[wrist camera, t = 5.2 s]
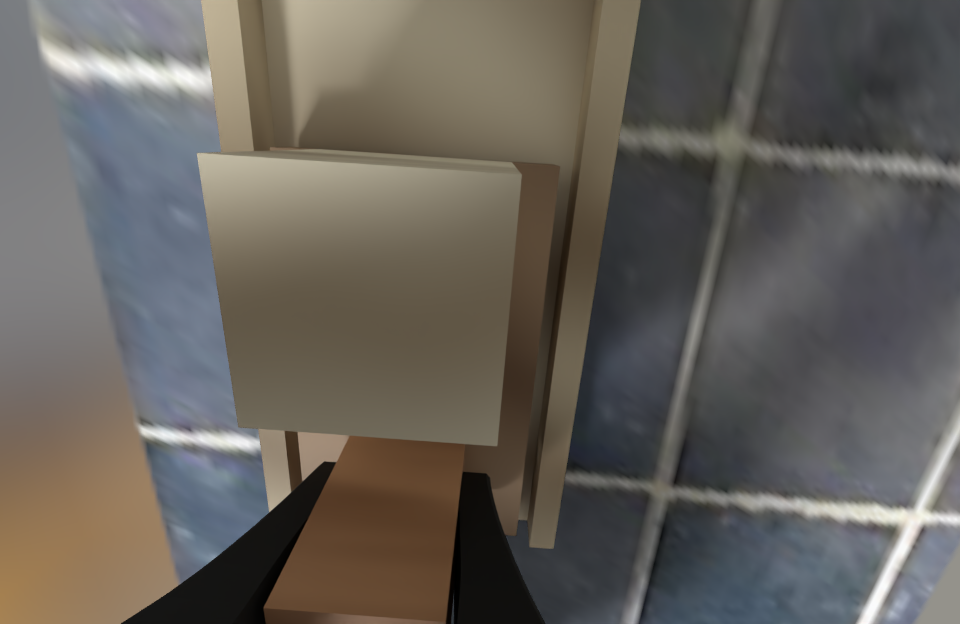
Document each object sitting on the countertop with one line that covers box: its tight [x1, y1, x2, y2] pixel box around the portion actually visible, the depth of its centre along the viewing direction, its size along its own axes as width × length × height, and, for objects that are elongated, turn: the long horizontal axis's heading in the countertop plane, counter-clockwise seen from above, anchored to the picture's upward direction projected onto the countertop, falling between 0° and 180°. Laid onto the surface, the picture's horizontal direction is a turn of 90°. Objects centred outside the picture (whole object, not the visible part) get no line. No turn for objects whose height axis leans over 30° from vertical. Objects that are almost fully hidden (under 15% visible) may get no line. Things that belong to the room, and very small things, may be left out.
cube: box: [197, 149, 522, 446], centre depth 8 cm, size 4×4×4 cm
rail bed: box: [201, 0, 641, 549], centre depth 11 cm, size 17×8×2 cm, turn 177°
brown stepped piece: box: [264, 147, 560, 624], centre depth 9 cm, size 10×6×6 cm, turn 177°
